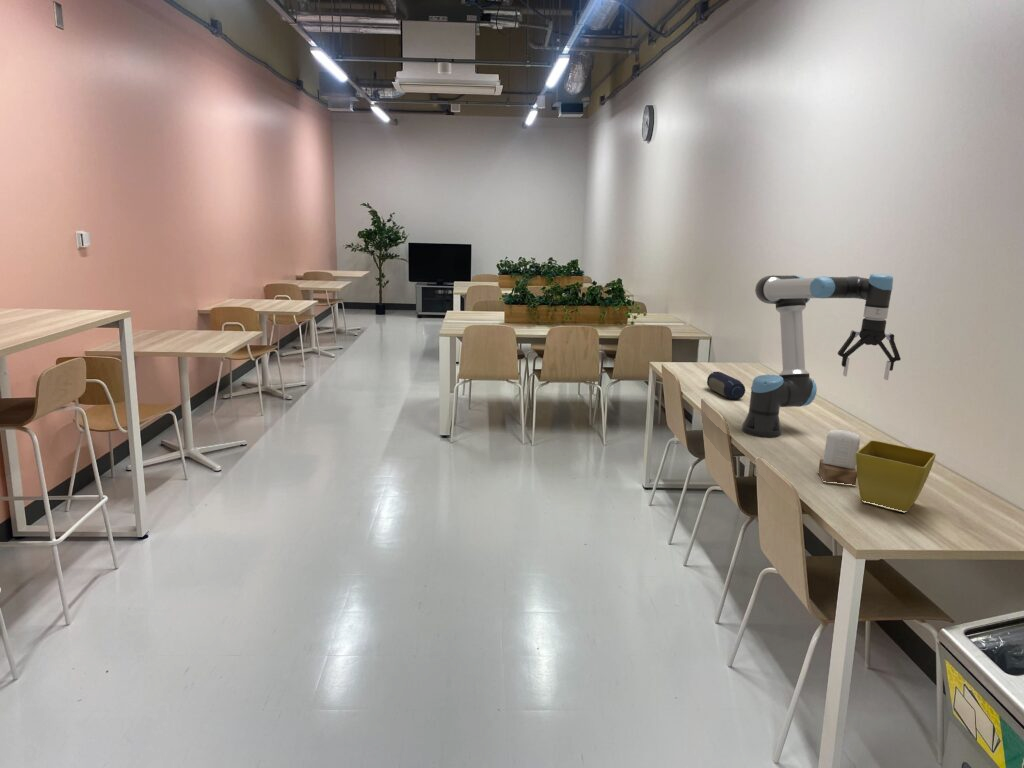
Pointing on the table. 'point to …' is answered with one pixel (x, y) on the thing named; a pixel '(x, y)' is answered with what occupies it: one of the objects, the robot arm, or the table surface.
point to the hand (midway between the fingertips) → (865, 377)
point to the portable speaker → (726, 385)
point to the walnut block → (837, 474)
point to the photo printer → (841, 449)
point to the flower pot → (892, 473)
